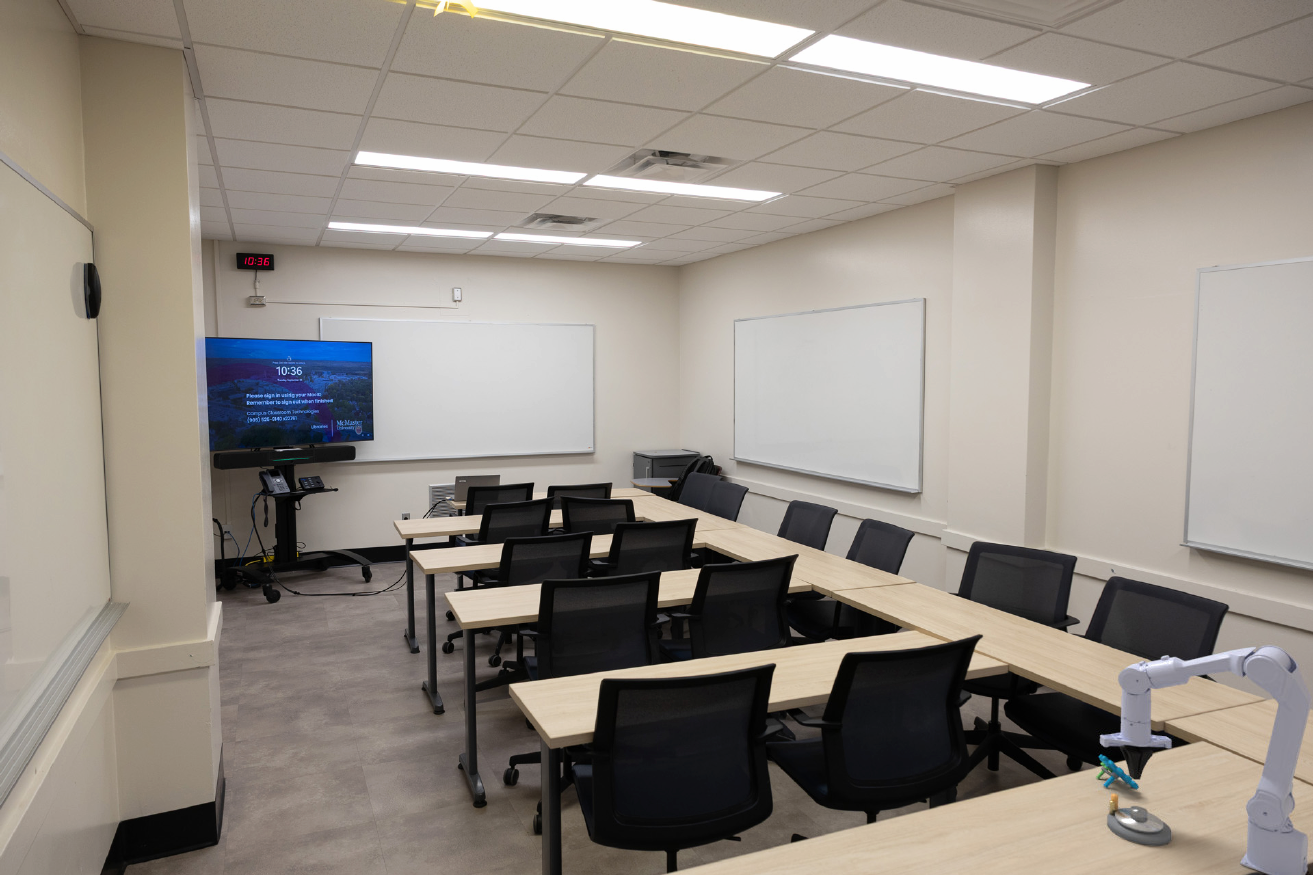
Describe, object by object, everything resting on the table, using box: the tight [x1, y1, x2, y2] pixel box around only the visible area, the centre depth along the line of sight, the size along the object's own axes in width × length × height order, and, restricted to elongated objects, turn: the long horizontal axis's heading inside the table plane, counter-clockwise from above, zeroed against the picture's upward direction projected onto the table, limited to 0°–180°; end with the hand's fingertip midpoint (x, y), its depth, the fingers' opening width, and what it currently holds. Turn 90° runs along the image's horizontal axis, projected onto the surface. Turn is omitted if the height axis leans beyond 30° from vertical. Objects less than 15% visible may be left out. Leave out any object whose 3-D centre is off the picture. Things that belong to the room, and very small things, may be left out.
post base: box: [1106, 799, 1172, 847], centre depth 171 cm, size 12×12×4 cm
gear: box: [1095, 754, 1140, 791], centre depth 191 cm, size 11×6×10 cm
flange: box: [1107, 793, 1164, 833], centre depth 172 cm, size 11×9×4 cm
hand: (1134, 777), depth 176 cm, fingers closed
